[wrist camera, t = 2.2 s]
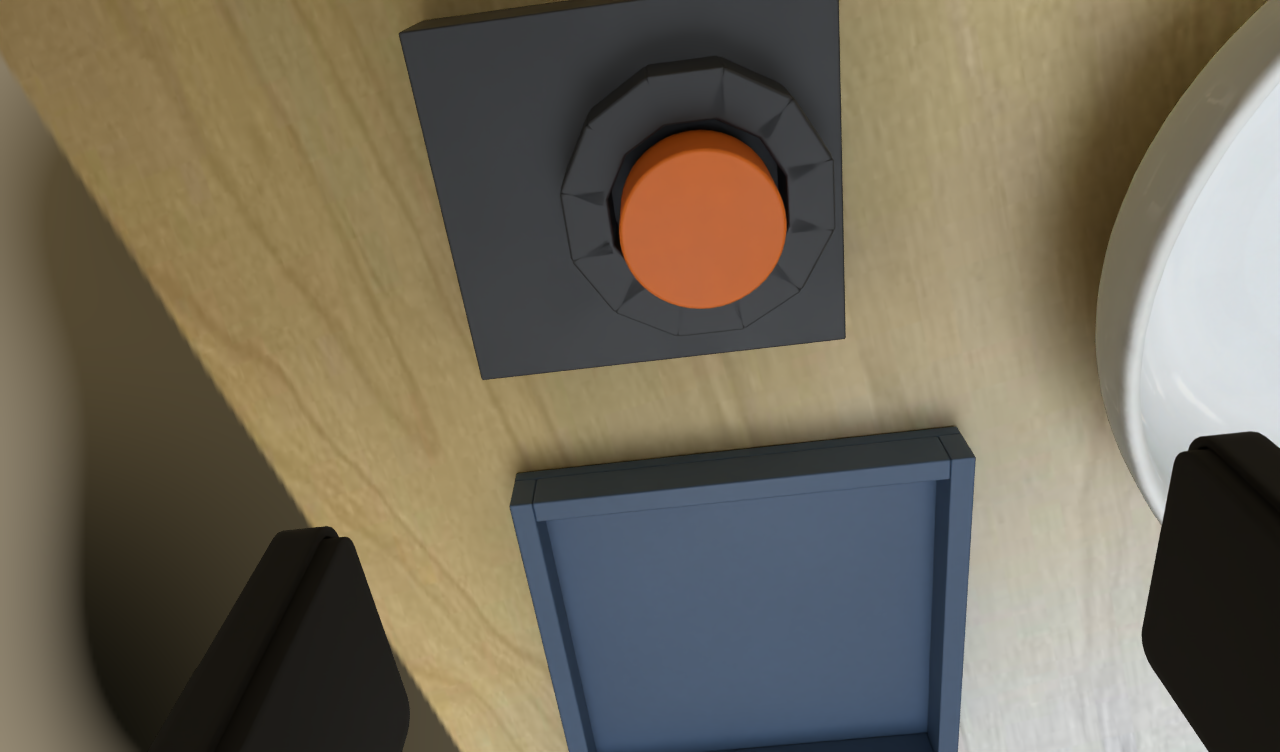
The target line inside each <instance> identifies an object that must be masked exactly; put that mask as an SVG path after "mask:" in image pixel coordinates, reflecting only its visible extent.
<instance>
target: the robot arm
mask: <svg viewBox="0 0 1280 752" xmlns="http://www.w3.org/2000/svg"><path fill="white" fill-rule="evenodd" d="M1142 644H1143V648H1144V652H1145V655H1146V657H1147V660H1148V662H1149V663H1150V665H1151V667H1152V669H1153V670H1154V671H1155V673H1156V674H1157V676H1158V677H1159V679H1160V680H1161V682H1162V683H1163V685H1164V686H1165V688H1166V689H1167V691H1168V692H1169V694H1170V695H1171V697H1172V698H1173V700H1174V701H1175V703H1176V704H1177V706H1178V707H1179V709H1180V710H1181V712H1182V713H1183V714H1184V716H1185V717H1186V719H1187V720H1188V722H1189V723H1190V725H1191V726H1192V728H1193V729H1194V731H1195V732H1196V734H1197V735H1198V737H1199V738H1200V740H1201V741H1202V743H1203V744H1204V746H1205V747H1206V749H1207V750H1208V752H1280V448H1279V447H1278V446H1277V445H1275V444H1274V443H1273V442H1272V441H1271V440H1270V439H1268V438H1267V437H1266V436H1264V435H1262V434H1261V433H1259V432H1253V431H1248V432H1238V433H1228V434H1219V435H1209V436H1200V437H1198V438H1196V439H1194V440H1193V441H1192V443H1191V444H1190V446H1189V449H1188V451H1183V452H1181V453H1179V454H1178V455H1177V456H1176V458H1175V461H1174V464H1173V469H1172V474H1171V479H1170V485H1169V490H1168V495H1167V501H1166V506H1165V511H1164V516H1163V522H1162V527H1161V532H1160V538H1159V543H1158V548H1157V553H1156V559H1155V564H1154V569H1153V575H1152V580H1151V585H1150V590H1149V596H1148V601H1147V606H1146V612H1145V617H1144V622H1143V627H1142ZM409 710H410V709H409V702H408V697H407V694H406V691H405V688H404V686H403V683H402V680H401V677H400V674H399V671H398V669H397V666H396V663H395V660H394V657H393V654H392V651H391V649H390V646H389V643H388V640H387V637H386V634H385V631H384V629H383V626H382V623H381V620H380V617H379V614H378V612H377V609H376V606H375V603H374V600H373V597H372V594H371V592H370V589H369V586H368V583H367V580H366V577H365V574H364V572H363V569H362V566H361V563H360V560H359V557H358V555H357V552H356V549H355V546H354V544H353V542H352V541H351V540H350V538H348V537H339V536H338V534H337V532H336V531H335V530H334V529H333V528H332V527H328V526H325V527H315V528H305V529H296V530H286V531H281V532H279V533H277V535H276V536H275V537H274V538H273V540H272V541H271V543H270V545H269V547H268V548H267V550H266V552H265V553H264V555H263V557H262V558H261V560H260V562H259V564H258V565H257V567H256V569H255V571H254V572H253V574H252V576H251V577H250V579H249V581H248V582H247V584H246V586H245V587H244V589H243V591H242V593H241V594H240V596H239V598H238V600H237V601H236V603H235V605H234V606H233V608H232V610H231V611H230V613H229V615H228V616H227V618H226V620H225V622H224V623H223V625H222V627H221V629H220V630H219V632H218V634H217V635H216V637H215V639H214V640H213V642H212V644H211V645H210V647H209V649H208V651H207V653H206V654H205V656H204V658H203V659H202V661H201V663H200V664H199V666H198V667H197V668H196V670H195V671H194V673H193V675H192V676H191V678H190V680H189V681H188V683H187V685H186V686H185V688H184V690H183V691H182V693H181V695H180V697H179V698H178V700H177V702H176V703H175V705H174V707H173V709H172V710H171V712H170V714H169V716H168V717H167V719H166V720H165V722H164V724H163V726H162V727H161V729H160V731H159V732H158V734H157V736H156V738H155V739H154V741H153V743H152V744H151V746H150V748H149V750H148V751H147V752H402V750H403V746H404V743H405V739H406V736H407V732H408V727H409V719H410V711H409Z"/></svg>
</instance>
